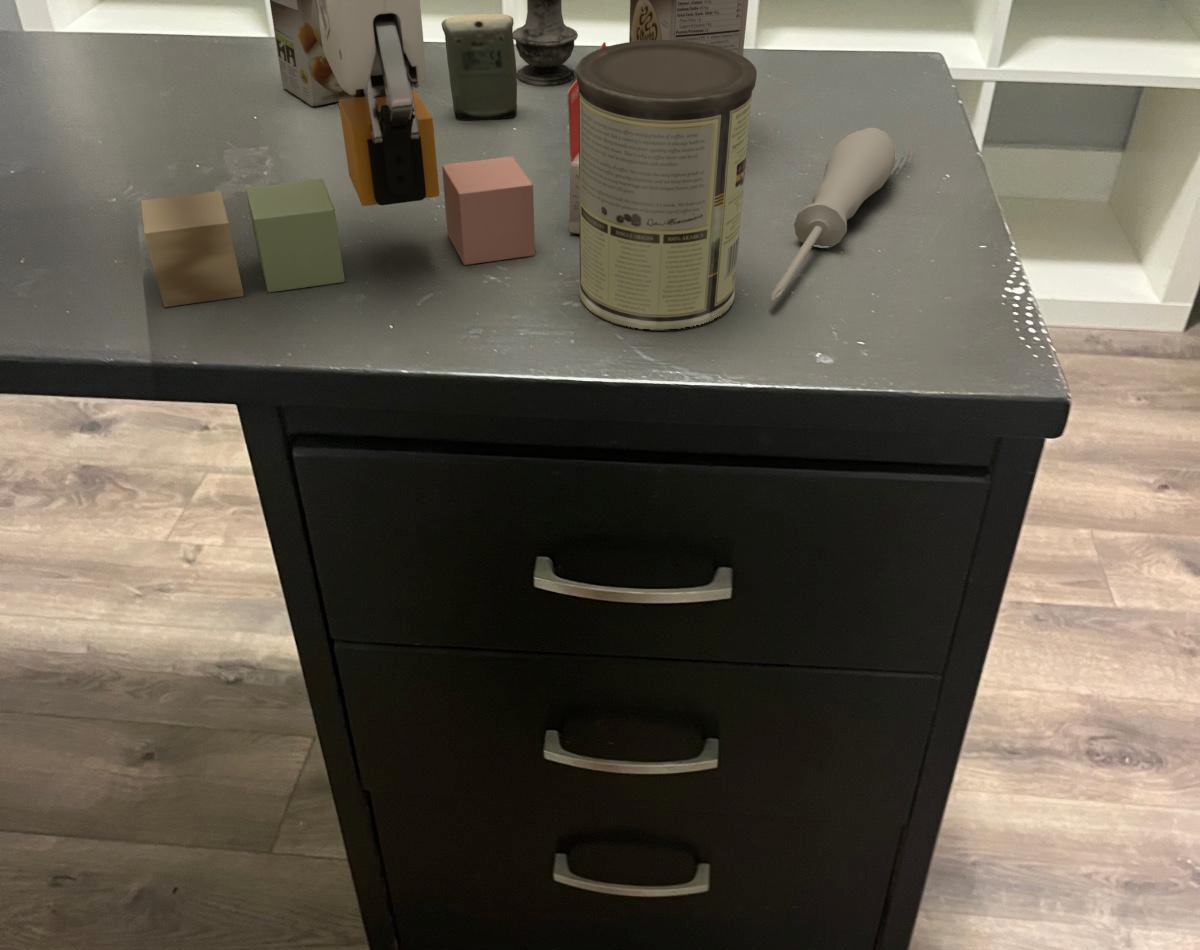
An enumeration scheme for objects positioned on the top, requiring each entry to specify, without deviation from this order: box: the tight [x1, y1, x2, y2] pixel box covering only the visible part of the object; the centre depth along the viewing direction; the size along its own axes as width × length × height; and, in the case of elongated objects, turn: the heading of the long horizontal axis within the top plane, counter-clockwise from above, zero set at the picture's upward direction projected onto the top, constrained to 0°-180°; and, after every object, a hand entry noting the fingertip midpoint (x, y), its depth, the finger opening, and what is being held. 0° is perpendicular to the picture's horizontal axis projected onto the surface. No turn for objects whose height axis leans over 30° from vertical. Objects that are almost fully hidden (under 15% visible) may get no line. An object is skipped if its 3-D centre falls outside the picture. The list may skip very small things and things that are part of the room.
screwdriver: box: [770, 127, 896, 301], centre depth 82 cm, size 5×25×4 cm, turn 155°
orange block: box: [338, 90, 440, 207], centre depth 75 cm, size 5×5×5 cm
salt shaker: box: [513, 0, 579, 87], centre depth 103 cm, size 6×6×12 cm
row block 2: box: [245, 178, 346, 293], centre depth 77 cm, size 5×5×5 cm
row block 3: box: [441, 156, 536, 266], centre depth 80 cm, size 5×5×5 cm
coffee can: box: [575, 40, 758, 331], centre depth 72 cm, size 10×10×14 cm
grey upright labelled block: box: [441, 13, 518, 121], centre depth 97 cm, size 6×5×8 cm
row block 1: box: [140, 190, 245, 308], centre depth 75 cm, size 5×5×5 cm
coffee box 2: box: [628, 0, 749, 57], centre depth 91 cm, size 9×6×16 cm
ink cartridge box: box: [566, 41, 607, 235], centre depth 83 cm, size 2×11×10 cm, turn 167°
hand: (391, 180), depth 76 cm, fingers closed on orange block, 5 cm apart
